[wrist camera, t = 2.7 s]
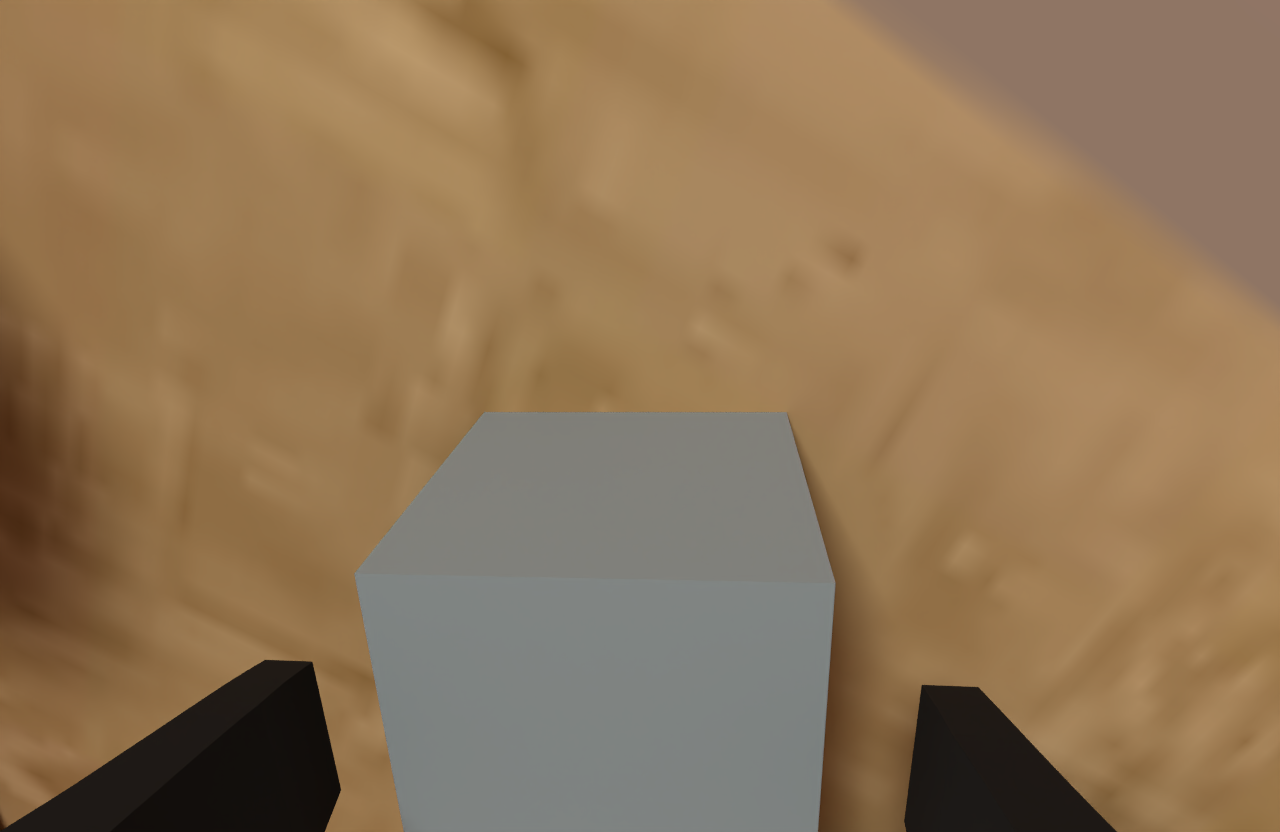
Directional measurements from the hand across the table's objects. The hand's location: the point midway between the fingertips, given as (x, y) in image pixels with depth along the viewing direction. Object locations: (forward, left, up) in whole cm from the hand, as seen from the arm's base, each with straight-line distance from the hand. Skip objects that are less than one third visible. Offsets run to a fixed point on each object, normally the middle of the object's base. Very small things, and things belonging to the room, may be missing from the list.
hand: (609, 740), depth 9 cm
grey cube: (0, 0, -5) cm, 5 cm away
